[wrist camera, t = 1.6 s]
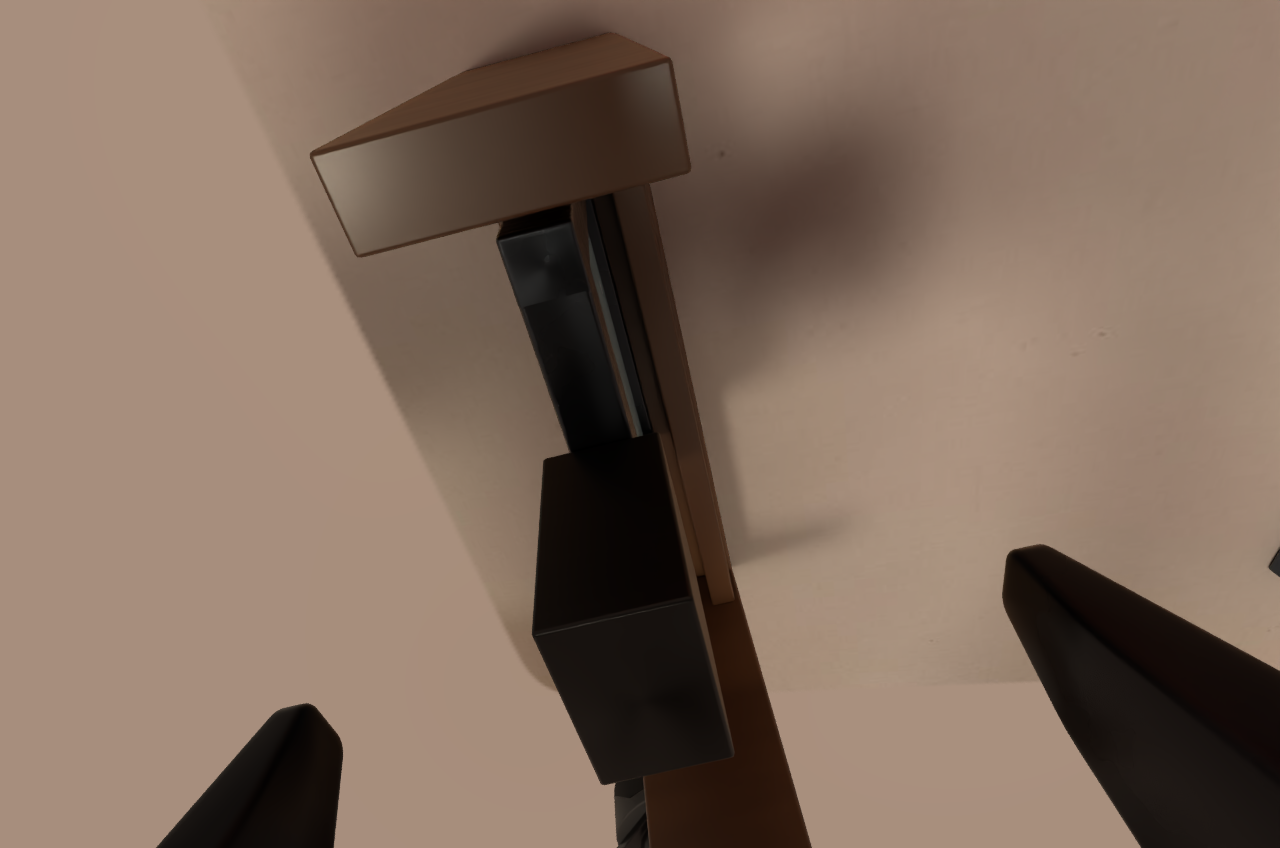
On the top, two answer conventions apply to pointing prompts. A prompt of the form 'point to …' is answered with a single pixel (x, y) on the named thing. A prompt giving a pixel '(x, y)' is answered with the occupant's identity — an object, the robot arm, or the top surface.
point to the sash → (609, 521)
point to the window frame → (619, 184)
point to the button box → (1276, 565)
